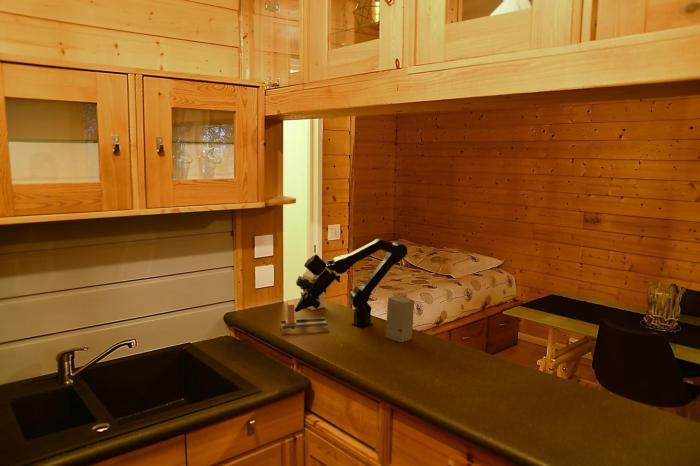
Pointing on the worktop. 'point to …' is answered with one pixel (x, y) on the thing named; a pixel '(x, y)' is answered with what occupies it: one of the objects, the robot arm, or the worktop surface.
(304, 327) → the slider board
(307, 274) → the milk carton
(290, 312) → the fader tab
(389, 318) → the skincare box
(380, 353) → the worktop surface
